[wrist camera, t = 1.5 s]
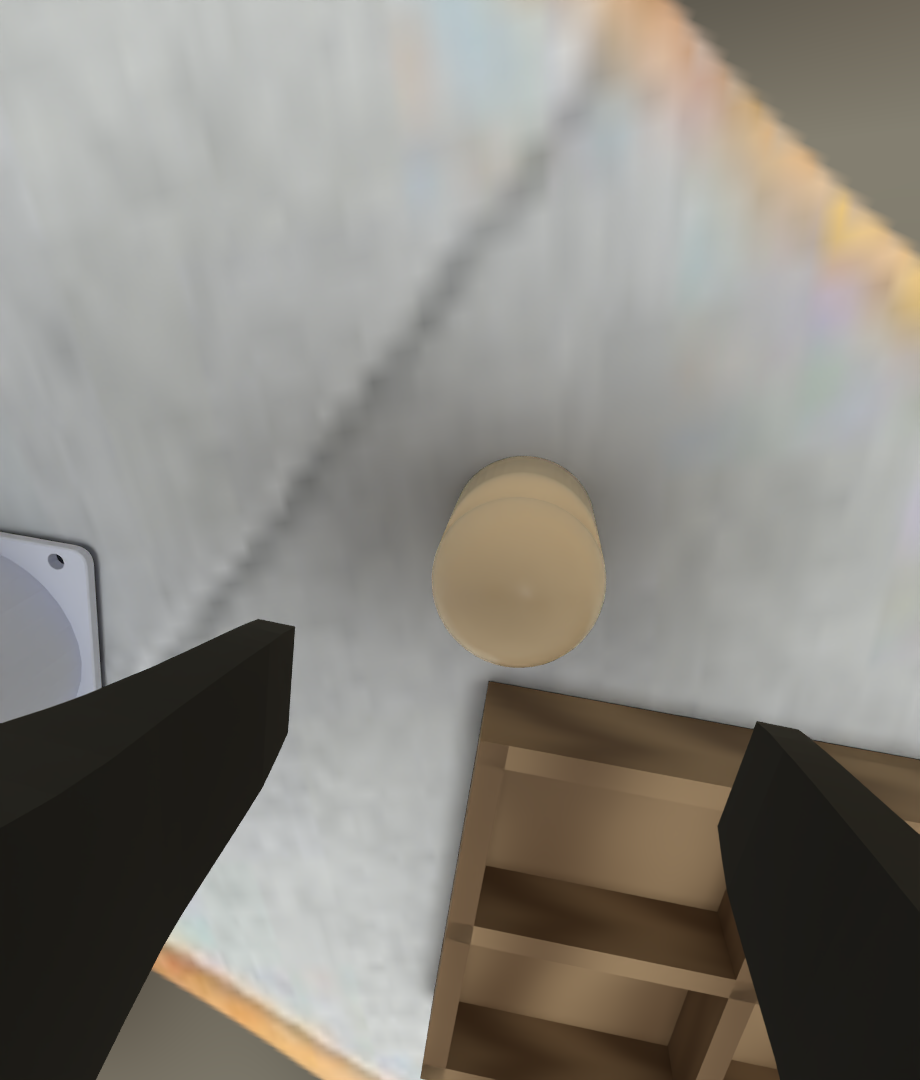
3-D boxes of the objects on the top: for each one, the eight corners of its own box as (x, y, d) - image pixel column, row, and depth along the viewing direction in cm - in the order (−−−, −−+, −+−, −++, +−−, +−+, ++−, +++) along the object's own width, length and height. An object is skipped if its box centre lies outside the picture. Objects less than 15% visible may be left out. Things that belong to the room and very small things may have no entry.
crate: (433, 995, 26) (420, 1078, 24) (488, 680, 21) (480, 740, 18) (917, 1098, 25) (964, 1199, 22) (1100, 793, 20) (1189, 874, 17)
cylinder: (445, 575, 20) (407, 684, 15) (464, 445, 19) (429, 510, 13) (579, 598, 20) (591, 718, 14) (607, 468, 19) (634, 544, 13)
